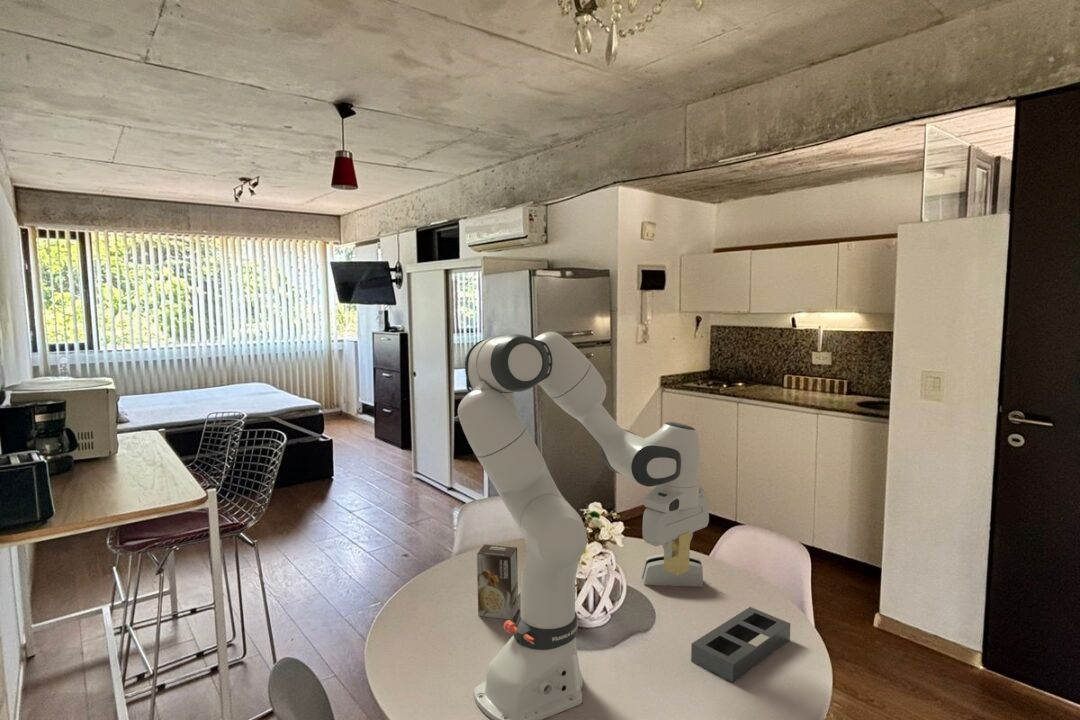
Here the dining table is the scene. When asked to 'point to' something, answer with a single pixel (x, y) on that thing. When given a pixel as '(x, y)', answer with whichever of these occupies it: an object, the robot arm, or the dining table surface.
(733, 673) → the grey peg holder
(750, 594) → the dining table surface
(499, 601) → the grey food box
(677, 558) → the brass peg
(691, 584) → the grey rounded block
